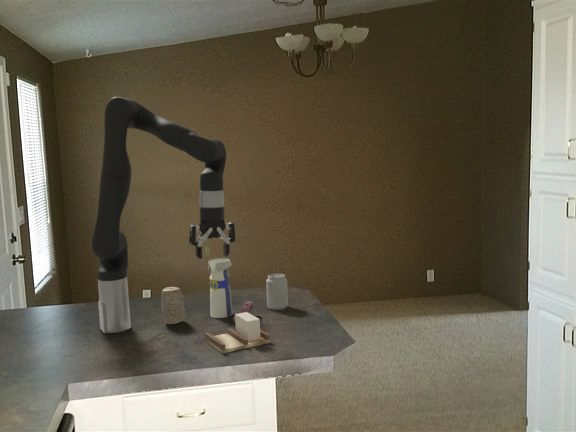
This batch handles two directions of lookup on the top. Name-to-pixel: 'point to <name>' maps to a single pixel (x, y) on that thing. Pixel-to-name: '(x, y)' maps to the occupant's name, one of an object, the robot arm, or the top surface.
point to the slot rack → (234, 341)
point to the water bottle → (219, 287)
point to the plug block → (247, 326)
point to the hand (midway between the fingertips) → (212, 257)
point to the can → (277, 292)
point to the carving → (172, 305)
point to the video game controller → (246, 308)
